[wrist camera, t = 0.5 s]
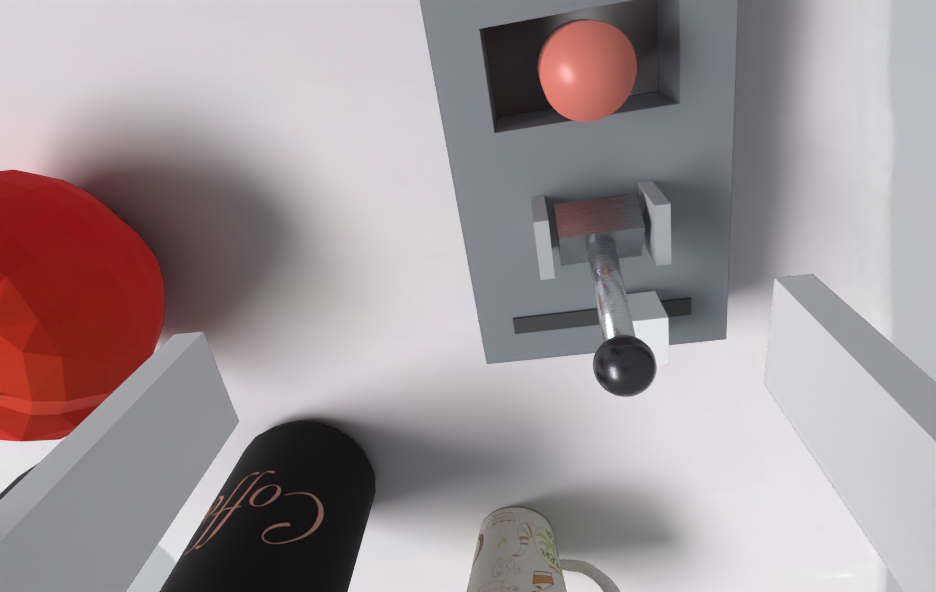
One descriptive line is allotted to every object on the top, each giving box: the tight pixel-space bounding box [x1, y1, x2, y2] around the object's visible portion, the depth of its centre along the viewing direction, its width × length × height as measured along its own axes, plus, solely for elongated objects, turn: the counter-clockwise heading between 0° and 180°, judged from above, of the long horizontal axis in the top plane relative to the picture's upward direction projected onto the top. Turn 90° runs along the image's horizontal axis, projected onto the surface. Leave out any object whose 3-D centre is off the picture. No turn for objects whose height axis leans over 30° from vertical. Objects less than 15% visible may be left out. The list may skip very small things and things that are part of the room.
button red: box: [538, 19, 637, 122], centre depth 26 cm, size 4×4×4 cm
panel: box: [420, 0, 738, 364], centre depth 28 cm, size 26×14×8 cm, turn 10°
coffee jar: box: [160, 421, 375, 592], centre depth 38 cm, size 11×11×18 cm
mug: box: [467, 507, 620, 592], centre depth 43 cm, size 8×12×10 cm, turn 83°
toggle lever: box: [554, 193, 656, 397], centre depth 26 cm, size 3×4×10 cm, turn 100°
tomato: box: [0, 170, 164, 441], centre depth 33 cm, size 16×14×14 cm
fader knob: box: [627, 291, 669, 365], centre depth 31 cm, size 3×2×3 cm
